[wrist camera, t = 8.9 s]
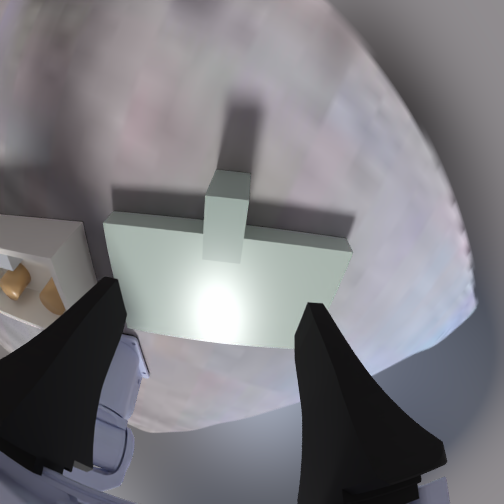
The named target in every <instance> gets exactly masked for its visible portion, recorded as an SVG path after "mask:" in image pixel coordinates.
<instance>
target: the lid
mask: <svg viewBox="0 0 504 504" xmlns="http://www.w3.org/2000/svg"><path fill="white" fill-rule="evenodd" d="M250 177H251V173H243V172H235V171H226V170H216V171H215V174H214V176H213V178H212V181H211V183H210V185H209V188H208V190H207V193H206V195H205V208H204V220H199V219H190V218H180V217H171V216H161V215H150V214H140V213H129V212H117V211H113V212H112V213H111V214H110V215H109V217H108V218H107V219H106V220H105V221H104V222H103V227H104V233H105V238H106V244H107V249H108V254H109V258H110V263H111V268H112V272H113V276H114V278H115V279H118V281H119V285H120V289H121V293H122V297H123V301H124V305H125V309H126V312H127V317H126V324H127V327H128V328H129V329H134V330H139V331H145V332H150V333H155V334H161V335H167V336H173V337H179V338H186V339H193V340H200V341H208V342H216V343H225V344H234V345H244V346H256V347H269V348H285V349H295V346H294V335H295V333H296V330H297V328H298V325H299V323H300V320H301V318H302V315H303V313H304V310H305V308H306V305H307V302H313V303H323V304H324V306H325V307H326V309H327V310H328V309H329V307H330V305H331V303H332V301H333V299H334V296H335V294H336V292H337V290H338V287H339V285H340V283H341V280H342V278H343V276H344V273H345V271H346V269H347V266H348V264H349V261H350V259H351V257H352V254H353V251H352V249H351V247H350V245H349V243H348V241H347V239H346V238H340V237H333V236H326V235H319V234H312V233H305V232H297V231H290V230H282V229H275V228H267V227H259V226H251V225H246V219H247V212H248V205H249V194H250Z"/></svg>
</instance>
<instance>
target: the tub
mask: <svg viewBox="0 0 504 504" xmlns="http://www.w3.org/2000/svg"><path fill="white" fill-rule="evenodd" d="M97 283H98V282H97V278H96V275H95V271H94V268H93V264H92V260H91V256H90V252H89V248H88V244H87V239H86V235H85V230H84V225H83V222H78V221H68V220H58V219H47V218H36V217H25V216H14V215H2V214H0V313H2V314H4V315H6V316H8V317H11V318H13V319H16V320H18V321H20V322H23V323H25V324H28V325H30V326H33V327H36V328H38V329H41V330H45V329H46V328H47V327H48V326H49V325H51V324H52V323H53V322H54V321H55V320H56V319H58V318H59V317H60V316H61V315H62V314H63V313H65V312H66V311H67V310H68V309H69V308H70V307H71V306H72V305H73V304H75V303H76V302H77V301H78V300H79V299H80V298H81V297H82V296H83V295H84V294H86V293H87V292H88V291H89V290H90V289H91V288H92V287H93V286H94V285H96V284H97Z"/></svg>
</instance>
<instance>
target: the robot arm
mask: <svg viewBox="0 0 504 504" xmlns="http://www.w3.org/2000/svg"><path fill="white" fill-rule="evenodd" d="M126 317H127V312H126V309H125V305H124V301H123V297H122V293H121V289H120V285H119V281H118V279H115V278H109V277H104V278H103V279H101V280H100V281H99V282H98V283H97V284H96V285H94V286H93V287H92V288H91V289H90V290H89V291H88V292H87V293H86V294H84V295H83V296H82V297H81V298H80V299H79V300H78V301H77V302H76V303H75V304H73V305H72V306H71V307H70V308H69V309H68V310H67V311H66V312H65V313H63V314H62V315H61V316H60V317H59V318H58V319H56V320H55V321H54V322H53V323H52V324H51V325H49V326H48V327H47V328H46V329H45V330H43V331H42V332H41V333H40V334H38V335H37V336H36V337H34V338H33V339H31V340H30V341H29V342H27V343H26V344H24V345H23V346H21V347H20V348H18V349H17V350H15V351H14V352H12V353H11V354H9V355H7V356H6V357H4V358H2V359H0V504H139V503H136V502H132V501H128V500H125V499H122V498H119V497H115V496H113V495H110V494H107V493H104V492H102V491H106V490H109V489H113V488H117V487H119V486H121V483H122V482H123V480H124V476H125V473H126V470H127V469H128V467H129V465H130V463H131V460H132V457H133V452H134V436H133V434H132V431H131V429H130V428H128V427H127V423H128V421H127V420H128V419H129V418H130V417H131V415H132V413H133V411H134V407H135V403H136V399H137V395H138V391H139V387H140V384H141V380H142V377H143V378H149V376H150V375H149V372H148V370H147V367H146V364H145V361H144V358H143V355H142V352H141V349H140V346H139V343H138V340H137V338H135V337H133V336H128V335H124V334H122V332H123V329H124V325H125V321H126ZM294 346H295V364H296V372H297V379H298V386H299V393H300V401H301V409H302V461H301V462H302V463H301V476H300V485H299V493H298V504H450V500H449V492H448V486H447V480H446V477H442V478H439V479H437V480H434V481H432V482H430V483H427V484H424V485H421V486H418V485H417V483H420V482H421V475H422V474H424V473H427V472H429V471H431V470H434V469H436V468H438V467H440V466H443V465H445V464H446V463H447V458H446V454H445V450H444V445H443V442H442V441H441V440H439V439H438V438H437V437H435V436H434V435H432V434H430V433H429V432H428V431H426V430H425V429H424V428H422V427H421V426H420V425H419V424H418V423H416V422H415V421H414V420H413V419H412V418H410V417H409V416H408V415H407V414H406V413H405V412H404V411H403V410H402V409H401V408H400V407H398V405H397V404H396V403H395V402H394V401H393V400H392V399H391V398H390V397H389V396H388V395H387V394H386V393H385V392H384V391H383V390H382V388H381V387H380V386H379V385H378V384H377V383H376V381H375V380H374V379H373V378H372V376H371V375H370V374H369V373H368V371H367V370H366V369H365V367H364V366H363V364H362V363H361V362H360V360H359V359H358V357H357V356H356V355H355V353H354V352H353V350H352V349H351V347H350V346H349V344H348V343H347V341H346V340H345V338H344V336H343V335H342V333H341V332H340V330H339V328H338V327H337V325H336V324H335V322H334V320H333V319H332V317H331V315H330V314H329V312H328V310H327V309H326V307H325V306H324V304H323V303H313V302H307V305H306V308H305V310H304V313H303V315H302V318H301V320H300V323H299V325H298V328H297V330H296V333H295V335H294ZM93 465H96V466H98V467H101V468H96V467H93Z"/></svg>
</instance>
